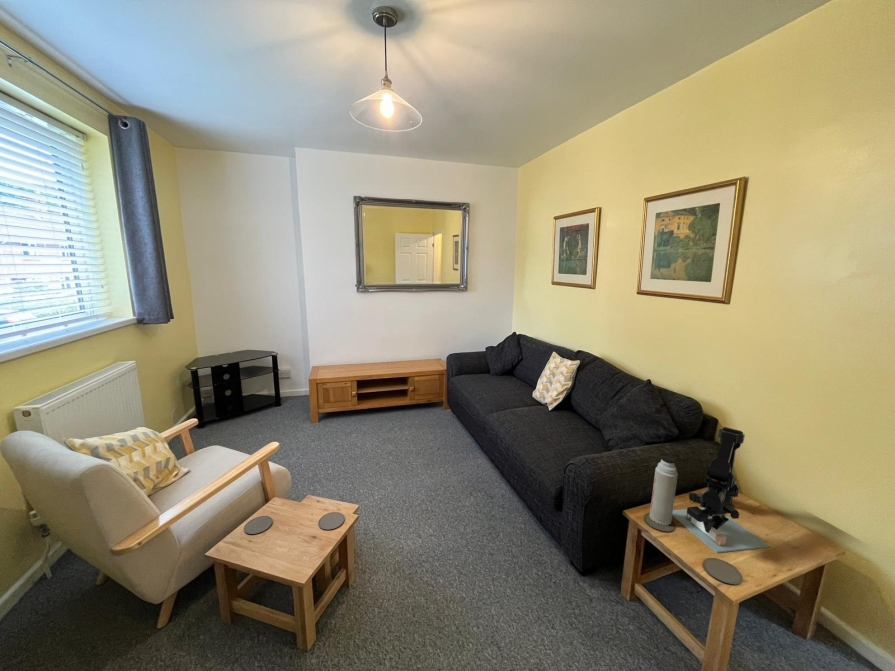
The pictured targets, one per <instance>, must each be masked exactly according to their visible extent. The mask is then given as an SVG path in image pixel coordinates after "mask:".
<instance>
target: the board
mask: <svg viewBox="0 0 895 671" xmlns="http://www.w3.org/2000/svg"><path fill="white" fill-rule="evenodd" d="M699 508H700V509H701V510H702V509H705V508H704V507H699ZM686 510H687V508H683V509H673V512H672V518H674V519H675V520H676V521H677V522H679V523H680V524H681V525H683V527H685V528H686V529H688V531H689V532H691V533H692V534H693V535H694V536H696V537H697V538H698V539H699V540H700V541H702V542H703V543H704V544H705V545H707V547H709V548H710V549H711V550H712V551H714V552H715V553H716V554H718V553H728V552H738V551H747V550H754V549H755V550H757V549H765V548H771V547H770V545H769V544H768V543H766V542H765V541H764V540H762V539H761V538H760V537H758V536H757V535H755V534H754V533H752V532H750V531H749V530H748V529H746V528H745V527H743V526H742V525H740V524H739V523H738V522H737V521H735V520H734V519H733V518H731V517H729V516H728V515H726V518H728V519H729V521H727V522H725V523H724V524H723V525H722V526H720V527H719V528H718V529H717V531H718V532H720V533H721V534H723V535H724V536H725V537H726V542H725V545H719V544H718V543H716V542H715V541H714V540H713V539H712V538H710V537H709V536H708V535H707V534H705V533H704V532H703V531H702V530H700V529H699V528H698V527H697V526H695V525H694V524H693V523H692V522H691V521H689V520H687V519H685V515H686Z"/></svg>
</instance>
